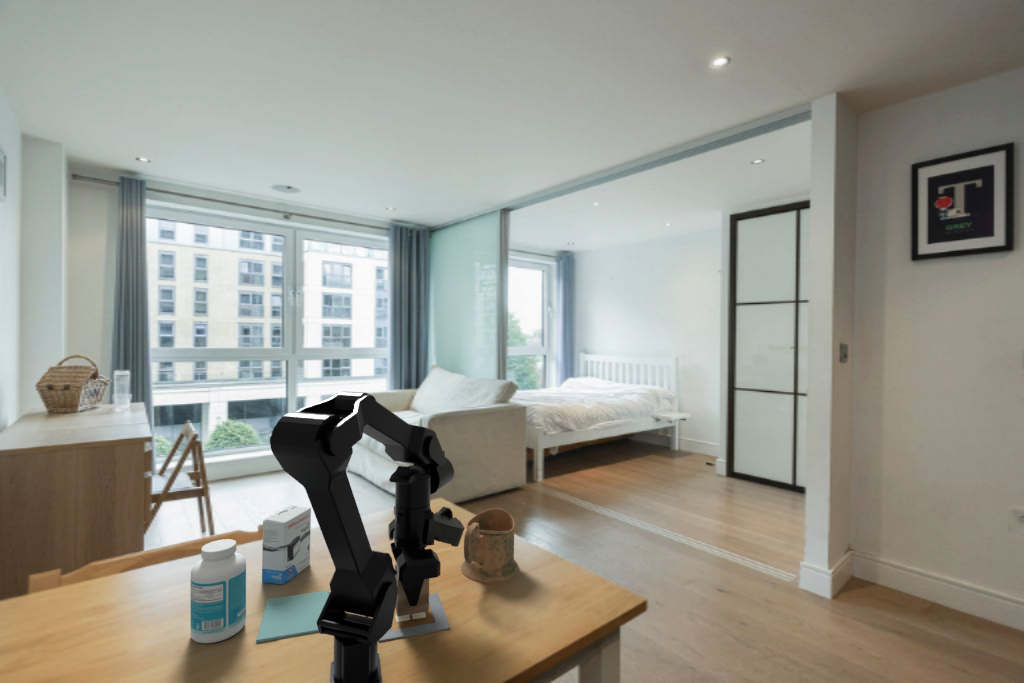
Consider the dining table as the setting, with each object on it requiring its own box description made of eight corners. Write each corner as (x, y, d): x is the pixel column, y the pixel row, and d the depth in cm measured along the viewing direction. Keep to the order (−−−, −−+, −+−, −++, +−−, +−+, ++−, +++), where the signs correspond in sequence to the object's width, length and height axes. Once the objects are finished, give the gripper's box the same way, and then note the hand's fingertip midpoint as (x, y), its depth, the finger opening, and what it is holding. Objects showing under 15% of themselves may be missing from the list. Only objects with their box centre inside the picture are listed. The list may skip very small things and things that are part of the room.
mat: (327, 630, 76) (327, 628, 76) (255, 642, 72) (256, 640, 72) (329, 592, 87) (329, 590, 87) (267, 601, 84) (267, 599, 84)
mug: (436, 592, 88) (437, 526, 88) (474, 552, 104) (475, 497, 104) (495, 604, 84) (497, 536, 84) (525, 561, 101) (526, 503, 101)
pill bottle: (234, 612, 80) (235, 531, 80) (253, 629, 76) (255, 543, 76) (182, 632, 75) (183, 545, 75) (199, 653, 70) (201, 560, 70)
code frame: (450, 629, 77) (450, 627, 77) (378, 642, 73) (378, 640, 73) (437, 594, 87) (437, 592, 87) (374, 604, 83) (374, 602, 83)
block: (428, 611, 79) (429, 574, 78) (397, 616, 77) (398, 579, 77) (423, 595, 83) (424, 561, 83) (394, 600, 82) (394, 565, 82)
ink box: (283, 585, 89) (284, 522, 89) (260, 582, 90) (261, 519, 90) (311, 564, 98) (312, 506, 97) (290, 562, 99) (290, 504, 98)
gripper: (474, 518, 74) (472, 619, 74) (449, 483, 91) (447, 565, 92) (400, 526, 70) (398, 633, 70) (388, 488, 88) (387, 573, 88)
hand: (411, 597), depth 80 cm, fingers closed on block, 5 cm apart
